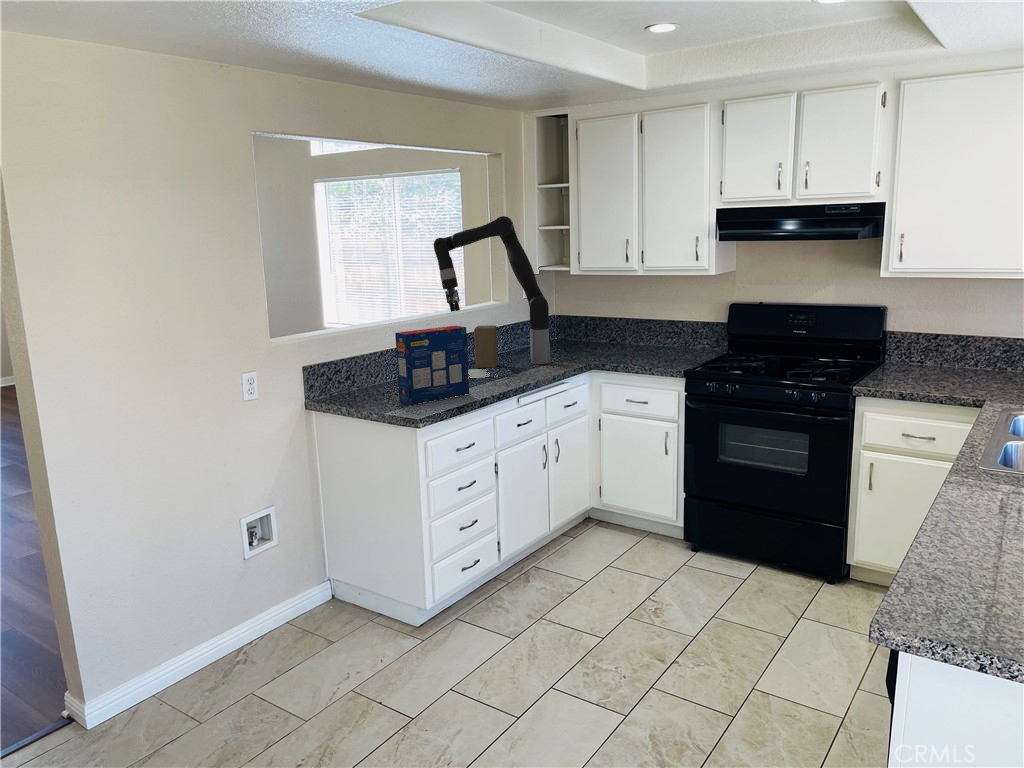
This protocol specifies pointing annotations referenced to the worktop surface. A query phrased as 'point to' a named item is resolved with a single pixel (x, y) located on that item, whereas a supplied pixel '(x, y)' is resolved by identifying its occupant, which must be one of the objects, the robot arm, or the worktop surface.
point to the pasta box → (432, 364)
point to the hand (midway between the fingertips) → (455, 311)
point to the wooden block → (486, 346)
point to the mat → (478, 373)
